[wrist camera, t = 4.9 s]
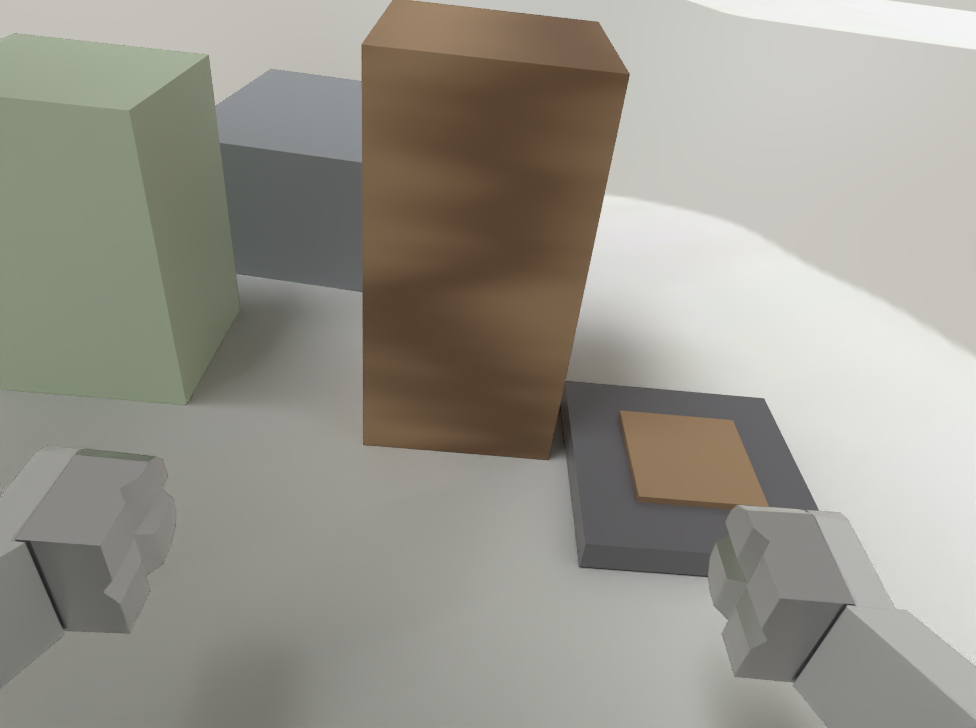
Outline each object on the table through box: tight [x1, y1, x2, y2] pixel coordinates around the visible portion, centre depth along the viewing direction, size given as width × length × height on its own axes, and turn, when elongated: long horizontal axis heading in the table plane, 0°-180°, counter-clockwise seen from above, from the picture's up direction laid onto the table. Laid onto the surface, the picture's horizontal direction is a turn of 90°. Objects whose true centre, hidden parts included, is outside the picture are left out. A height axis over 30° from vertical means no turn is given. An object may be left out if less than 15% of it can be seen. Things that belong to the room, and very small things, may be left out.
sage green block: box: [0, 33, 240, 405], centre depth 19 cm, size 5×5×8 cm
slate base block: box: [215, 69, 363, 292], centre depth 27 cm, size 9×9×5 cm
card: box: [560, 381, 819, 576], centre depth 18 cm, size 6×6×1 cm
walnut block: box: [362, 0, 629, 460], centre depth 18 cm, size 5×5×10 cm
